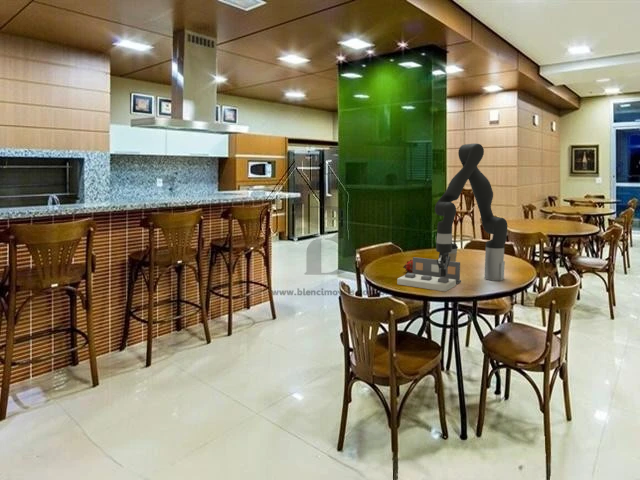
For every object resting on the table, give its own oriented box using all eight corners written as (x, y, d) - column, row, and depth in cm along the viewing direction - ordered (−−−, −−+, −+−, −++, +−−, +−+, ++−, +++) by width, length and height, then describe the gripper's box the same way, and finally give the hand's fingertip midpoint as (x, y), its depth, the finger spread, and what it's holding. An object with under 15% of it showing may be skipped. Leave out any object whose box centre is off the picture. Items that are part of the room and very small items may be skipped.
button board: (455, 285, 228) (456, 279, 228) (445, 291, 217) (445, 285, 217) (409, 278, 243) (409, 273, 243) (397, 284, 232) (397, 278, 232)
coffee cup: (459, 268, 265) (460, 243, 263) (454, 271, 257) (455, 246, 255) (443, 266, 270) (444, 242, 268) (438, 270, 262) (439, 244, 260)
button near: (448, 284, 225) (448, 278, 225) (445, 285, 222) (445, 279, 221) (440, 282, 227) (441, 277, 227) (437, 284, 224) (437, 278, 224)
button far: (415, 279, 236) (415, 273, 235) (412, 280, 233) (412, 275, 232) (408, 278, 238) (408, 272, 238) (405, 279, 235) (405, 274, 234)
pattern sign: (461, 282, 234) (461, 261, 233) (457, 284, 230) (457, 263, 228) (415, 275, 250) (415, 256, 248) (410, 277, 245) (410, 258, 243)
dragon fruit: (425, 275, 257) (404, 278, 256) (420, 264, 263) (400, 267, 262) (426, 265, 251) (405, 269, 250) (421, 254, 257) (401, 258, 256)
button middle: (431, 281, 230) (431, 275, 230) (428, 283, 227) (428, 277, 227) (424, 280, 233) (424, 274, 232) (421, 282, 230) (421, 276, 229)
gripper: (446, 244, 214) (445, 279, 217) (456, 240, 224) (455, 274, 227) (431, 243, 218) (430, 277, 221) (442, 239, 229) (441, 272, 231)
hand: (443, 276), depth 224 cm, fingers closed
